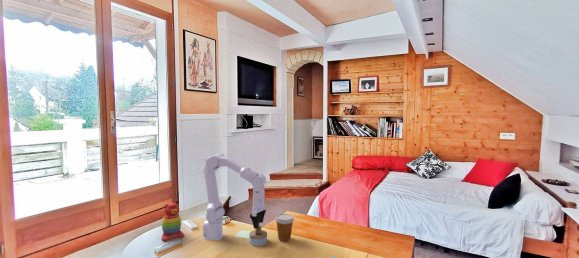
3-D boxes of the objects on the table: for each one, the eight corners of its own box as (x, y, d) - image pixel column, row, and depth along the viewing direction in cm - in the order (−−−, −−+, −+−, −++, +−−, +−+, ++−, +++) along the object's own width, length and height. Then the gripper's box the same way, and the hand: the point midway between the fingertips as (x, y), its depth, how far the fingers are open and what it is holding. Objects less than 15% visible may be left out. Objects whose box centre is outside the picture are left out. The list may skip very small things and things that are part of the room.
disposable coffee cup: (291, 244, 137) (291, 221, 136) (273, 242, 139) (273, 219, 138) (294, 236, 146) (295, 214, 146) (277, 234, 148) (278, 212, 148)
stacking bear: (163, 242, 137) (163, 207, 136) (158, 235, 145) (158, 202, 144) (185, 237, 144) (185, 203, 143) (179, 230, 152) (179, 199, 151)
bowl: (247, 246, 135) (247, 238, 134) (252, 238, 143) (253, 230, 143) (264, 247, 133) (264, 239, 133) (269, 240, 141) (269, 232, 141)
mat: (234, 238, 143) (234, 236, 143) (240, 231, 152) (240, 230, 152) (250, 239, 141) (250, 238, 141) (256, 232, 150) (256, 231, 150)
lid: (246, 237, 135) (246, 229, 135) (253, 230, 143) (253, 222, 143) (263, 240, 132) (263, 231, 132) (269, 232, 141) (269, 224, 141)
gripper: (262, 204, 129) (261, 232, 130) (270, 195, 143) (269, 220, 144) (248, 202, 131) (247, 230, 131) (257, 194, 145) (257, 219, 145)
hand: (258, 225), depth 138 cm, fingers open, 7 cm apart
